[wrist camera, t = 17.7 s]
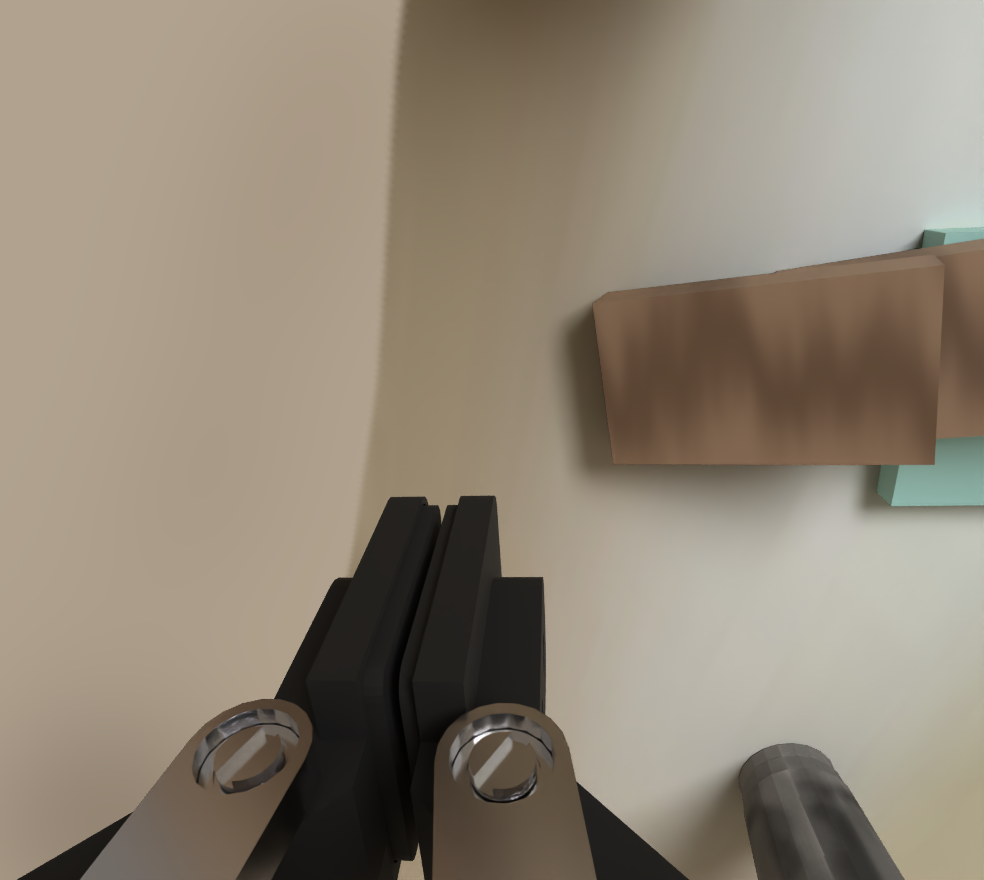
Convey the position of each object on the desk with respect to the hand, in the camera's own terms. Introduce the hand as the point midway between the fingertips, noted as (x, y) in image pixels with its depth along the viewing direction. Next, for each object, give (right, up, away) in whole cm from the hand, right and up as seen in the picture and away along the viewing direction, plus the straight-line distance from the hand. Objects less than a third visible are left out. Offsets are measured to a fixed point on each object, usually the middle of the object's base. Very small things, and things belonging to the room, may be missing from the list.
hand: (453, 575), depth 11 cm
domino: (+5, +4, +14) cm, 15 cm away
